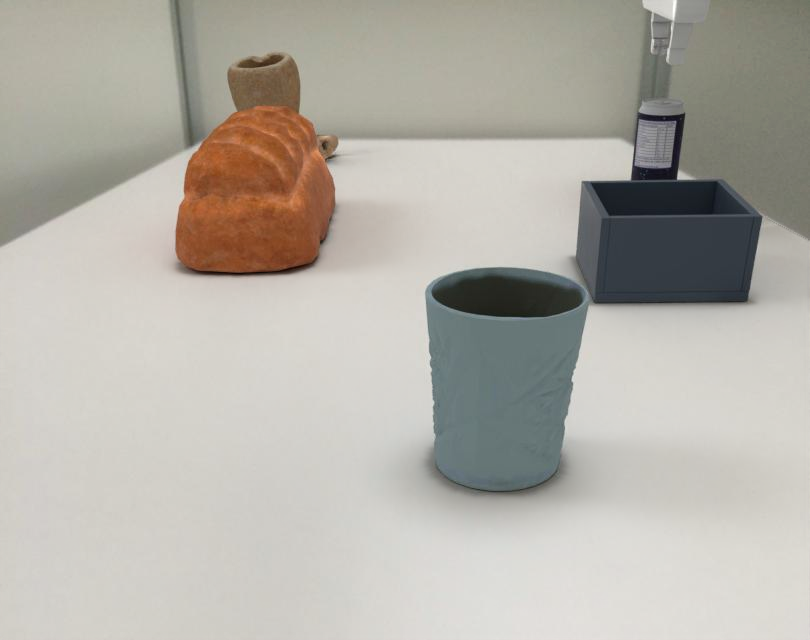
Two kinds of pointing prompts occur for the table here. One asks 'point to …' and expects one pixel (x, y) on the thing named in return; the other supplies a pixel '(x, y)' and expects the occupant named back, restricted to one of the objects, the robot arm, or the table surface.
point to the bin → (666, 241)
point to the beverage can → (658, 139)
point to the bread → (255, 195)
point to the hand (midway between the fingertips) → (666, 59)
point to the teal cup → (502, 372)
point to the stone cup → (271, 88)
